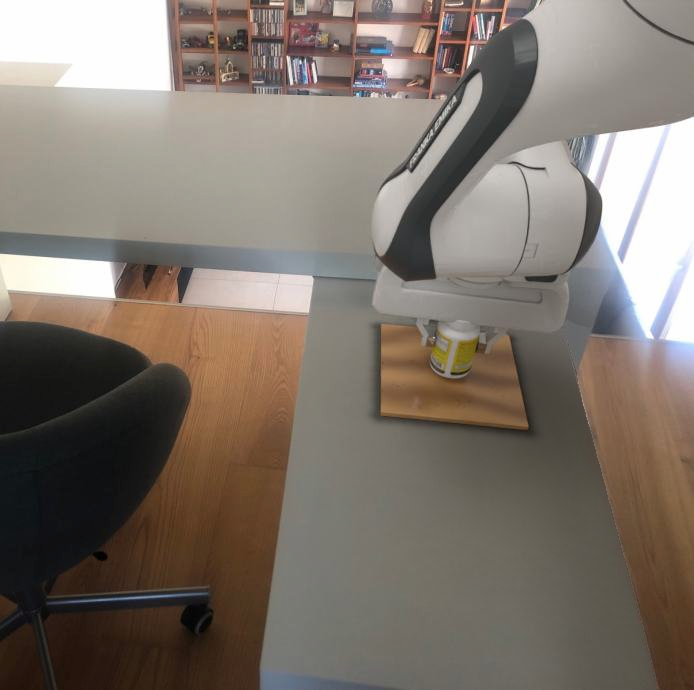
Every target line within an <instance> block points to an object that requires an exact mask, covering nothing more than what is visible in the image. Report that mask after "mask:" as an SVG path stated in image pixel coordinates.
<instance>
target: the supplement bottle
mask: <svg viewBox="0 0 694 690" xmlns="http://www.w3.org/2000/svg"><path fill="white" fill-rule="evenodd" d="M480 332H482V331H481V326H480V325H472V324H471V323H470V322H469V321H462V320H456V321H455V322H446V321H437V324H436V340H435V345H434V347H433V348H432V353H431V358H430V365H431V368H432V369H433V370H434V371H435V372H436V373H437V374H439V375H441V376H443V377H447V378H461V377H464V376H466V375H467V374H468V373H469V372H470V369H471V366H472V362H473V358H474V355H475V351H476V347H477V343H478V339H479V336H480Z"/></svg>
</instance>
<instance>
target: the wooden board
mask: <svg viewBox="0 0 694 690" xmlns="http://www.w3.org/2000/svg"><path fill="white" fill-rule="evenodd" d="M480 333H485V334H486V332H483V331H480ZM421 337H422V334H421V332H420V331H419V329H418V327H417V326H412V325H411V326H409V325H400V324H399V325H397V324H387V323H381V324H380V416H383V417H393V418H400V419H401V418H402V419H410V420H411V419H412V420H420V421H421V420H422V421H431V422H442V423H453V424H460V425H462V424H463V425H469V426H482V427H492V428H502V429H509V430H522V431H528V430H529V428H530V426H529V422H528V417H527V412H526V407H525V404H524V398H523V394H522V389H521V385H520V380H519V375H518V371H517V365H516V362H515V357H514V353H513V347H512V343H511V338H510V334H509V333H508V334H507V333H506V335H505V336H503V337H502V338H501V339H499V340H498V341H497V342H495V343H494V344H492V346H491V349H490V353H489V354H483V353H476V352H475V355H474V358H473V362H472V366H471V369H470V372H469V373H468V374H467V375H466V376H464V377H461V378H447V377H443V376H441V375H439V374H437V373H436V372H435V371H434V370H433V369H432V368H431V365H430V358H431V353H432V348H433V347H426V346H421Z"/></svg>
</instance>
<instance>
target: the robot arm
mask: <svg viewBox="0 0 694 690" xmlns="http://www.w3.org/2000/svg"><path fill="white" fill-rule="evenodd" d="M692 118H694V0H543V1H542V2H541V3H539V4H538V5H537V6H536V7H534V8H533V9H532V10H531V11H529V12H528V13H526V14H525V15H524V16H523V17H521V18H519V19H517V20H515V21H513V22H512V23H510V24H508V25H507V26H505V27H504V28H503V29H501V30H499V31H498V32H496V33H495V34H494V35H492V36H491V37H490V38H489V39H488V40H487V41H486V43H485V44H484V45H483V46H482V47H481V49H480V50H479V51H478V53H477V54H476V56H474V58H473V59H472V61H471V62H470V63H469V65H468V66H467V68H466V69H465V71H464V72H463V73H462V75H461V77H460V78H459V79H458V81H457V82H456V84H455V85H454V87H453V88H452V90H451V91H450V93H449V94H448V96H447V97H446V99H445V100H444V102H443V103H442V105H441V106H440V108H439V109H438V111H437V112H436V114H435V115H434V116H433V118H432V120H431V121H430V123H429V124H428V126H427V127H426V129H425V131H423V133H422V135H421V137H420V138H419V140H418V141H417V142H416V144H415V146H414V147H413V149H412V150H411V152H410V153H409V154H408V156H407V157H406V158H405V160H404V161H403V162H401V163H400V164H399V165H398V166H397V167H396V168H394V170H392V172H391V173H390V174H389V175H388V176H387V177H386V179H385V180H384V181H382V183H381V185H380V187H379V189H378V192H377V194H376V198H375V201H374V203H373V208H372V214H371V225H370V226H371V239H372V247H373V251H374V254H375V255H374V261H373V263H374V266H375V268H376V270H377V274H376V278H375V282H374V287H373V293H372V300H371V306H372V307H373V309H374V310H375V311H376V313H377V314H380V315H387V316H395V317H404V318H412V319H415V326H416V327H418V329H419V331H420V332H421V334H422V337H421V346H426V347H434V345H435V340H436V329H437V327H434V326H433V327H432V326H430V325H429V323H430V321H437V322H438V321H446V322H455V321H456V320H462V321H469V322H470V323H471V324H472V325H480V327H488V328H489V329H488V330H487V331H485V332H484V333H480V336H479V339H478V343H477V347H476V351H475V352H476V353H483V354H489V353H490V349H491V346H492V344H494V343H495V342H497V341H498V340H499V339H501V338H502V337H503V336H505V335H506V334H507V332H508V330H515V331H523V332H530V333H531V332H532V333H541V334H553V333H555V332H557V331H559V330H560V329H561V328H563V326H564V323H565V320H566V316H567V312H568V309H569V302H570V289H569V285H568V279H569V278H570V275H571V271H572V270H573V269H574V268H575V267H576V266H577V265H578V264H579V263H580V262H581V261H582V260H583V259H584V258H585V256H586V255H587V254H588V252H589V251H590V249H591V248H592V246H593V244H594V242H595V240H596V238H597V235H598V232H599V229H600V224H601V221H602V216H603V198H602V194H601V192H600V191H599V189H598V187H597V186H596V185H595V184H594V182H593V181H592V180H591V179H590V177H588V175H586V174H585V172H583V171H582V170H581V169H580V168H579V167H578V166H576V165H575V164H574V163H573V162H572V161H570V159H569V156H568V154H567V152H566V148H565V145H564V143H563V141H567V140H571V139H578V138H585V137H593V136H599V135H606V134H613V133H621V132H629V131H635V130H643V129H649V128H656V127H657V128H658V127H662V126H668V125H671V124H675V123H679V122H683V121H686V120H689V119H692ZM485 333H486V334H485Z"/></svg>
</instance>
